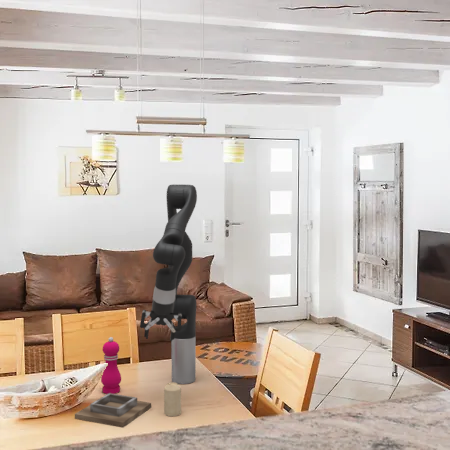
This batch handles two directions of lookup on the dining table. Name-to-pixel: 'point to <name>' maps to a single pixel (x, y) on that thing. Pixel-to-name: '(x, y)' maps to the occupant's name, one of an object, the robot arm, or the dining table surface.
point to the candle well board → (113, 410)
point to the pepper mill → (111, 368)
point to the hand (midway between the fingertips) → (159, 338)
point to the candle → (172, 399)
